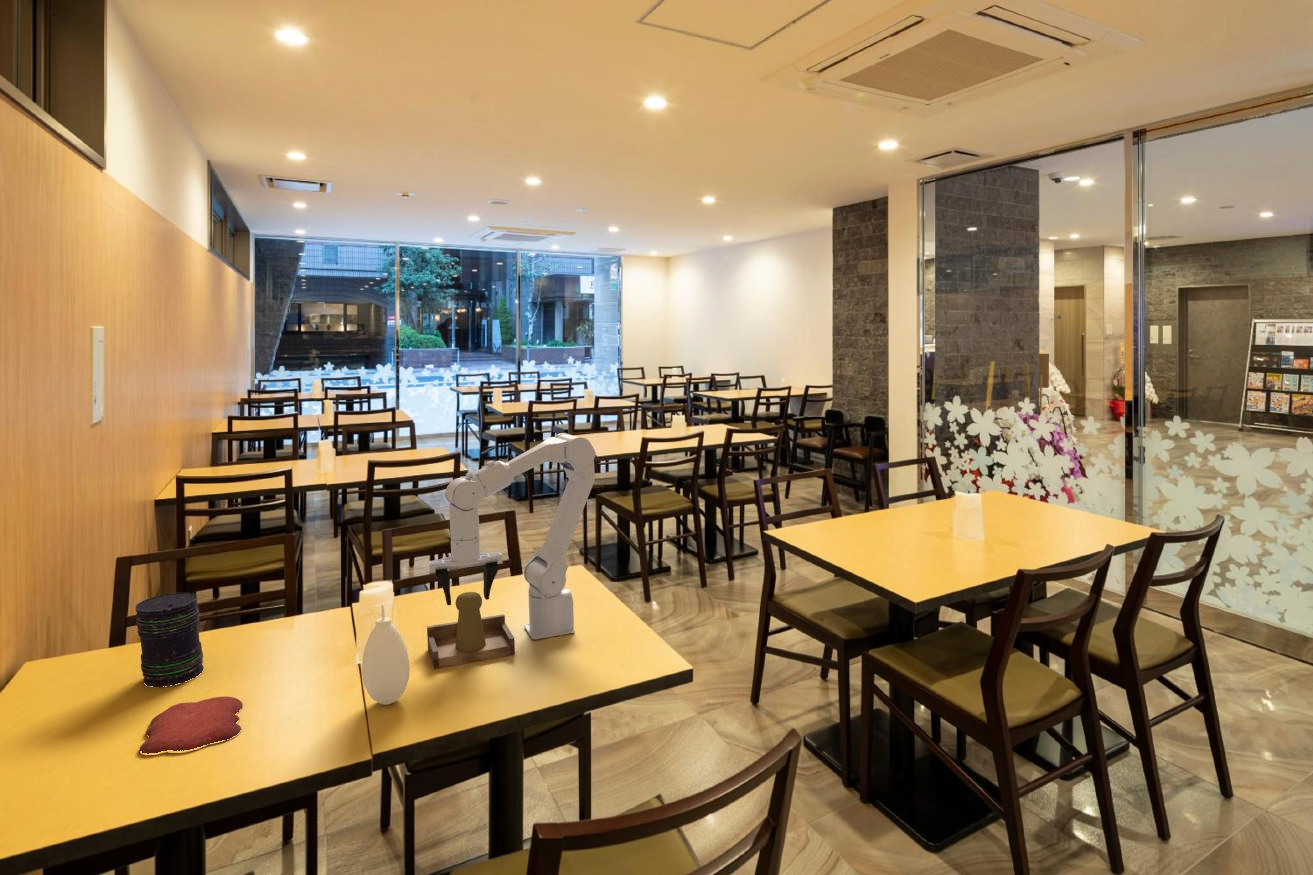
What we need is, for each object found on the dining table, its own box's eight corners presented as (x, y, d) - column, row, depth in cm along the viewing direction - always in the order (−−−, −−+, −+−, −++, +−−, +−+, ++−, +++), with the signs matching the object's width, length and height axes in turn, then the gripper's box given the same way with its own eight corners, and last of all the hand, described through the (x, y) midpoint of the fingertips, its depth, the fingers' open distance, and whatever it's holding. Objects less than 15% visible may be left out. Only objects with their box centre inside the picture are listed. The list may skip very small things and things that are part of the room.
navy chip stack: (137, 676, 136) (129, 601, 134) (196, 659, 143) (189, 588, 141) (149, 693, 129) (141, 615, 127) (211, 675, 137) (204, 600, 135)
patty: (240, 743, 114) (239, 731, 114) (134, 766, 108) (133, 754, 107) (245, 696, 129) (244, 685, 129) (153, 714, 123) (152, 703, 123)
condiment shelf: (504, 636, 154) (503, 614, 153) (514, 654, 145) (514, 630, 144) (428, 649, 148) (426, 626, 147) (433, 669, 139) (432, 644, 138)
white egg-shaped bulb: (366, 717, 121) (360, 616, 118) (362, 697, 128) (356, 601, 125) (414, 706, 124) (409, 608, 122) (407, 687, 131) (402, 594, 129)
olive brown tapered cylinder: (491, 641, 146) (489, 590, 145) (474, 653, 141) (472, 600, 139) (467, 637, 148) (465, 587, 147) (449, 649, 143) (446, 596, 141)
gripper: (496, 528, 151) (498, 589, 153) (425, 536, 145) (428, 599, 147) (503, 536, 145) (506, 600, 147) (430, 545, 139) (433, 611, 141)
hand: (467, 600), depth 146 cm, fingers open, 7 cm apart
